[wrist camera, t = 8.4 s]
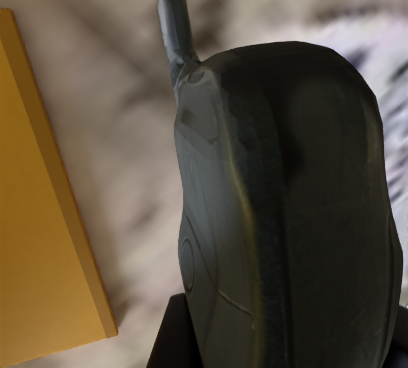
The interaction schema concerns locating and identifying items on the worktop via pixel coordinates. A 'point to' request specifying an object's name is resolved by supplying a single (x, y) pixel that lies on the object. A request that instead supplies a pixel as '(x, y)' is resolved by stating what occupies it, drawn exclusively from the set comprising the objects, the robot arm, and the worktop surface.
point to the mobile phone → (282, 205)
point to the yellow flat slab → (40, 227)
